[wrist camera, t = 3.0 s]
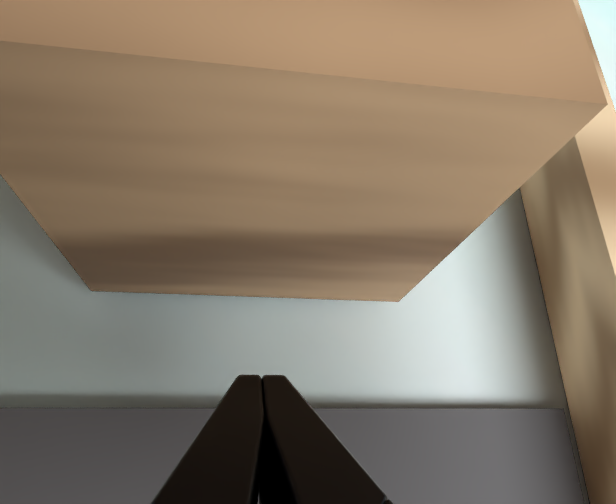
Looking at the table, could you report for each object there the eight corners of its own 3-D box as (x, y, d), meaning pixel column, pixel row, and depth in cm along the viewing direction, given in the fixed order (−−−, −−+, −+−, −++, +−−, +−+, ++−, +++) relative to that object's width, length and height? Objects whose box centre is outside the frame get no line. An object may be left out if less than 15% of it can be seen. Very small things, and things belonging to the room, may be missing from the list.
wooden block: (398, 301, 16) (608, 104, 7) (91, 291, 15) (-114, 29, 6) (386, 177, 18) (540, -97, 9) (114, 157, 17) (-12, -191, 8)
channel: (687, 661, 14) (854, 733, 10) (-384, 754, 10) (-734, 921, 6) (510, -9, 25) (559, -91, 22) (-30, -84, 21) (-83, -199, 18)
